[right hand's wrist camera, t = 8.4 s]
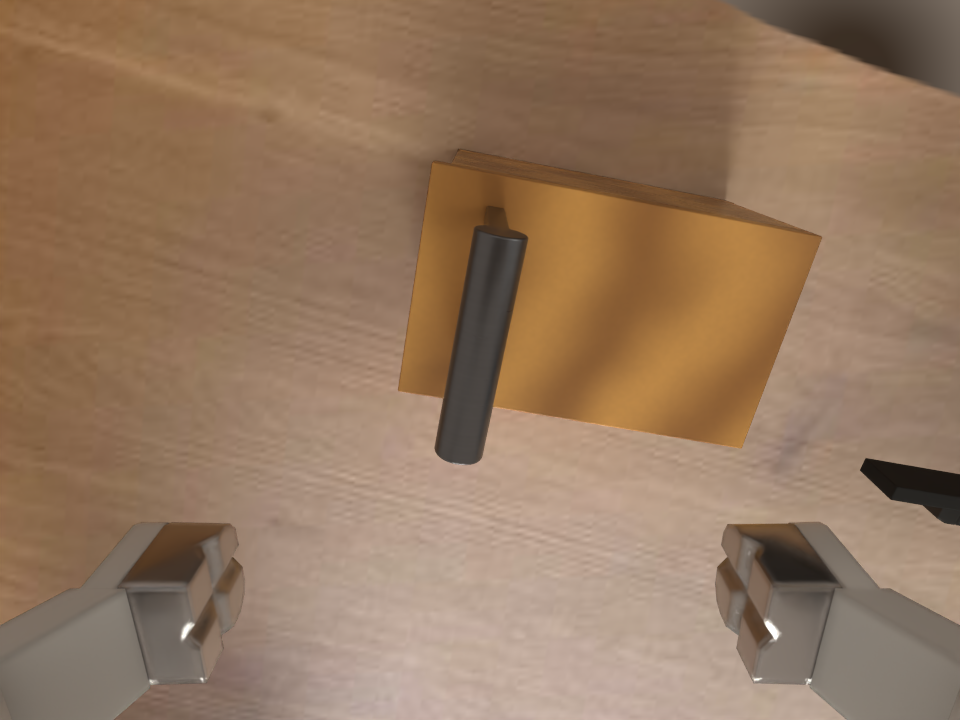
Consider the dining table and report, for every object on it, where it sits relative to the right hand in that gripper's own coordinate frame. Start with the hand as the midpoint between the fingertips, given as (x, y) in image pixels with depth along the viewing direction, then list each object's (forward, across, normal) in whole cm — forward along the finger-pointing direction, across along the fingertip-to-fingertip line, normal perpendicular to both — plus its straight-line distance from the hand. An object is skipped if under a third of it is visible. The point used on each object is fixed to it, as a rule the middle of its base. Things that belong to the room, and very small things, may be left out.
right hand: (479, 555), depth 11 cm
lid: (+17, -5, +1) cm, 17 cm away
